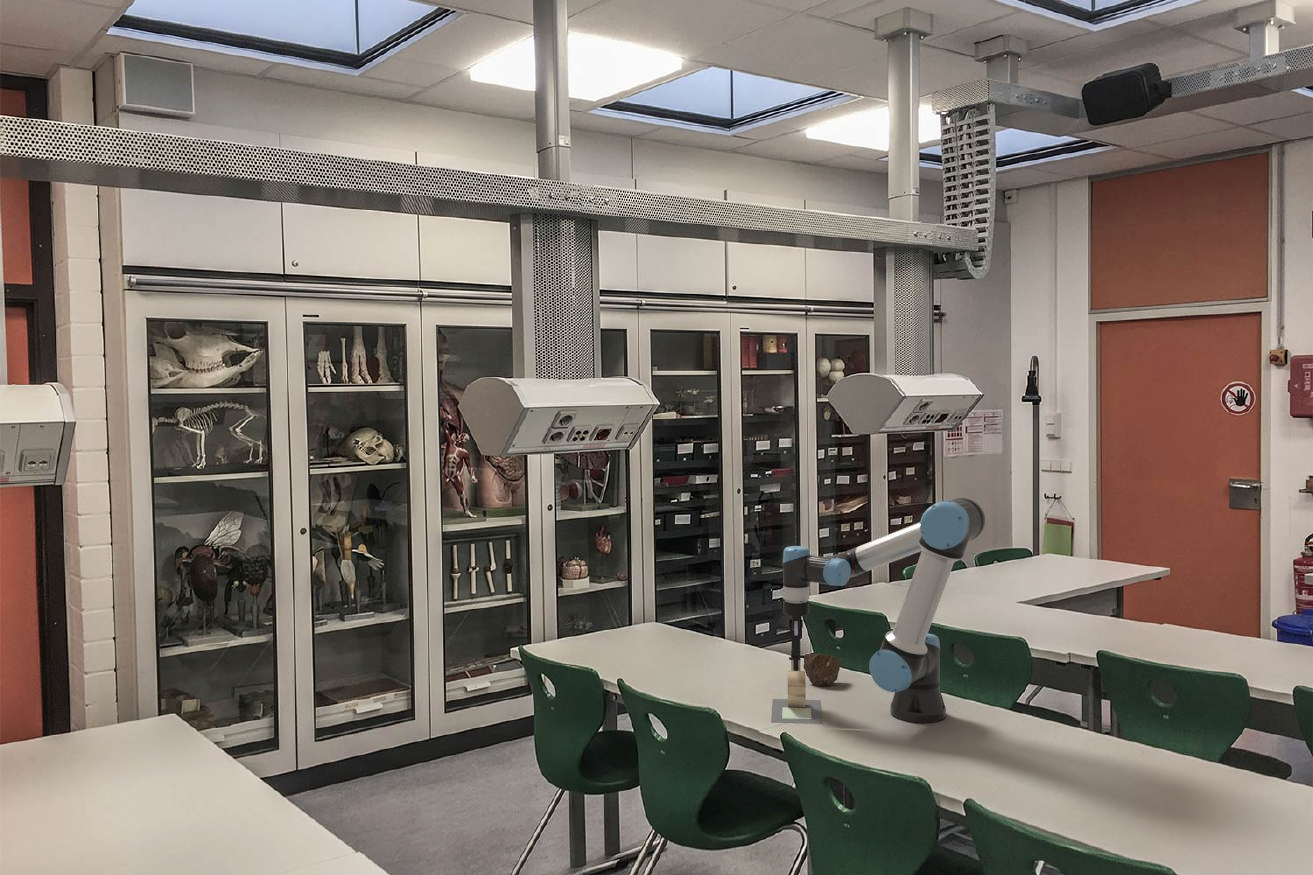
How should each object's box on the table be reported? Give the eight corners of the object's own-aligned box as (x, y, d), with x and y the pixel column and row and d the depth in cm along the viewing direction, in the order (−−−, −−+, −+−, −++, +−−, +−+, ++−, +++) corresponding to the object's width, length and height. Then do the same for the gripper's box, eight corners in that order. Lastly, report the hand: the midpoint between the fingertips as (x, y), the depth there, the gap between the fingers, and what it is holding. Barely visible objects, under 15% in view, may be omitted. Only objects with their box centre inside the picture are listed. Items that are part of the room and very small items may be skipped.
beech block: (787, 692, 301) (787, 670, 295) (805, 692, 301) (805, 670, 295) (787, 706, 298) (787, 685, 291) (805, 707, 297) (805, 685, 291)
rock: (835, 663, 328) (850, 651, 320) (837, 694, 323) (851, 683, 315) (799, 656, 326) (813, 644, 318) (800, 687, 320) (814, 676, 312)
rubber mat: (772, 700, 306) (772, 698, 305) (820, 701, 304) (820, 699, 304) (771, 723, 284) (771, 721, 284) (822, 725, 282) (822, 723, 282)
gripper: (783, 595, 305) (782, 674, 306) (782, 604, 292) (782, 687, 293) (808, 595, 304) (808, 675, 305) (809, 605, 291) (809, 688, 292)
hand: (795, 681), depth 299 cm, fingers closed
